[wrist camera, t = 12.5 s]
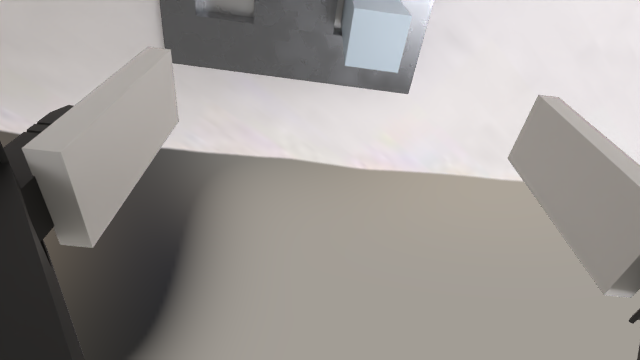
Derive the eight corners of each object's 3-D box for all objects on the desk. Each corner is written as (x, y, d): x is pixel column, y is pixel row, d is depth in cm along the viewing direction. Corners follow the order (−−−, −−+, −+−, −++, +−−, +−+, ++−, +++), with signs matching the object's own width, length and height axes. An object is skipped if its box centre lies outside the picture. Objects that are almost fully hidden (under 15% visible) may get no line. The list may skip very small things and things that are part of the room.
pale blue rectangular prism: (347, -22, 33) (354, 8, 23) (388, -16, 33) (412, 16, 23) (339, 29, 35) (343, 75, 26) (377, 34, 36) (395, 82, 26)
